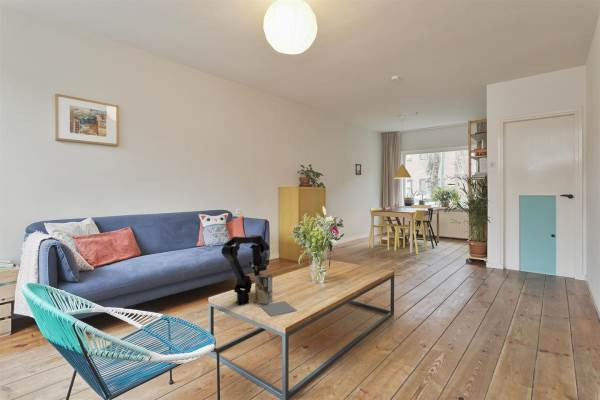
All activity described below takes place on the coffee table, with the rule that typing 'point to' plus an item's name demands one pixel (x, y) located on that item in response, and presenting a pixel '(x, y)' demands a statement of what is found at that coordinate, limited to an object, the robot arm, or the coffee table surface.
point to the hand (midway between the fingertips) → (256, 278)
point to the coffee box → (263, 288)
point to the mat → (278, 308)
